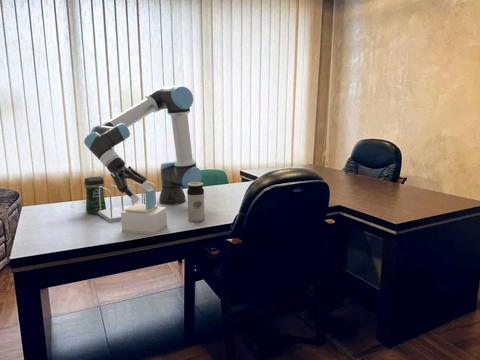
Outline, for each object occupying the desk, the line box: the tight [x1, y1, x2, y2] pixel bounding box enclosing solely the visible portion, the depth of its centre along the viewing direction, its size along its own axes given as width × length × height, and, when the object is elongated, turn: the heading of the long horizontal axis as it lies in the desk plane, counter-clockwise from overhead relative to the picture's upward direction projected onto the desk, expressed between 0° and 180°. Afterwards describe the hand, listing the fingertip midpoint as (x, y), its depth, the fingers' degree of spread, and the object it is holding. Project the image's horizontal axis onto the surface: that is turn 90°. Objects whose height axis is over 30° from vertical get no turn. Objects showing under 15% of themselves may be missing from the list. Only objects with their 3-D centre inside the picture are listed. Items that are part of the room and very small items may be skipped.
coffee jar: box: [83, 176, 107, 214], centre depth 196 cm, size 10×8×19 cm
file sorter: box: [97, 180, 157, 223], centre depth 192 cm, size 25×17×16 cm
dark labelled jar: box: [186, 181, 205, 223], centre depth 182 cm, size 8×8×18 cm
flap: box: [125, 188, 159, 213], centre depth 167 cm, size 11×10×9 cm
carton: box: [120, 206, 168, 236], centre depth 169 cm, size 16×12×9 cm
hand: (145, 197), depth 166 cm, fingers open, 13 cm apart
